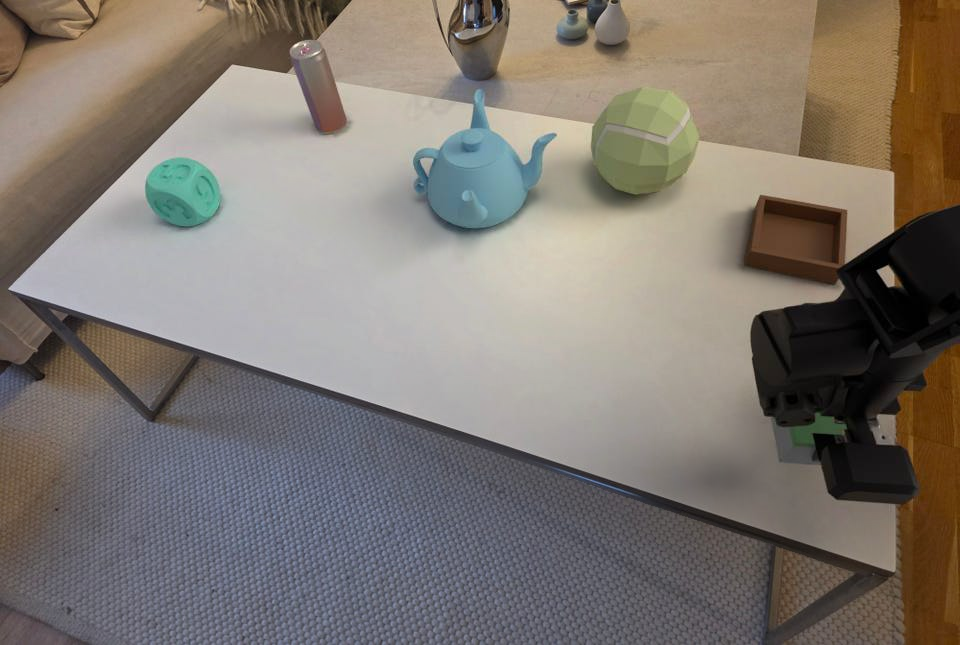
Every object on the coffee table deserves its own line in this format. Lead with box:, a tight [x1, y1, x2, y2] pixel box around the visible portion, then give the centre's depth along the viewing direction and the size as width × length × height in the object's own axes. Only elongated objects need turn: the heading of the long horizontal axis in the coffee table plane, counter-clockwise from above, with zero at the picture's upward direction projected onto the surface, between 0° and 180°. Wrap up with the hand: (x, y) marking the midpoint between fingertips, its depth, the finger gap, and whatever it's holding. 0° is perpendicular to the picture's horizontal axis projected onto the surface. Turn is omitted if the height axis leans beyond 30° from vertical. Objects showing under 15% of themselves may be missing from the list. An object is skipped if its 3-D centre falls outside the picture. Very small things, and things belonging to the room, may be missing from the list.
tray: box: [744, 194, 848, 285], centre depth 82 cm, size 12×12×3 cm
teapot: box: [412, 88, 558, 229], centre depth 89 cm, size 17×19×12 cm
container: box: [770, 412, 847, 466], centre depth 58 cm, size 6×5×5 cm
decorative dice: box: [144, 156, 221, 227], centre depth 96 cm, size 8×8×8 cm
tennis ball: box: [590, 86, 700, 196], centre depth 88 cm, size 15×15×15 cm
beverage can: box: [289, 39, 347, 135], centre depth 104 cm, size 6×6×15 cm
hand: (811, 435), depth 59 cm, fingers closed on container, 5 cm apart
